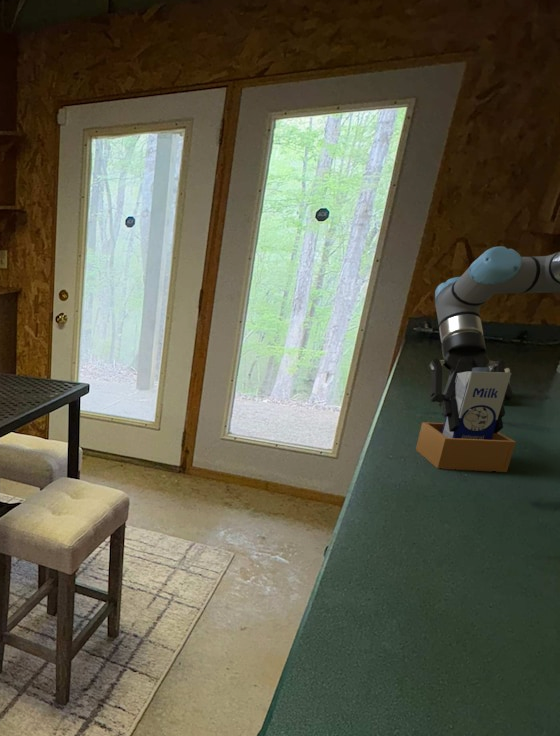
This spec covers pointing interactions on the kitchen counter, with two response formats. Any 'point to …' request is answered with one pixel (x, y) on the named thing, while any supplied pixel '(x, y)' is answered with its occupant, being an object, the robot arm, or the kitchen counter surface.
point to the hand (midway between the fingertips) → (475, 429)
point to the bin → (464, 450)
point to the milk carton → (477, 403)
